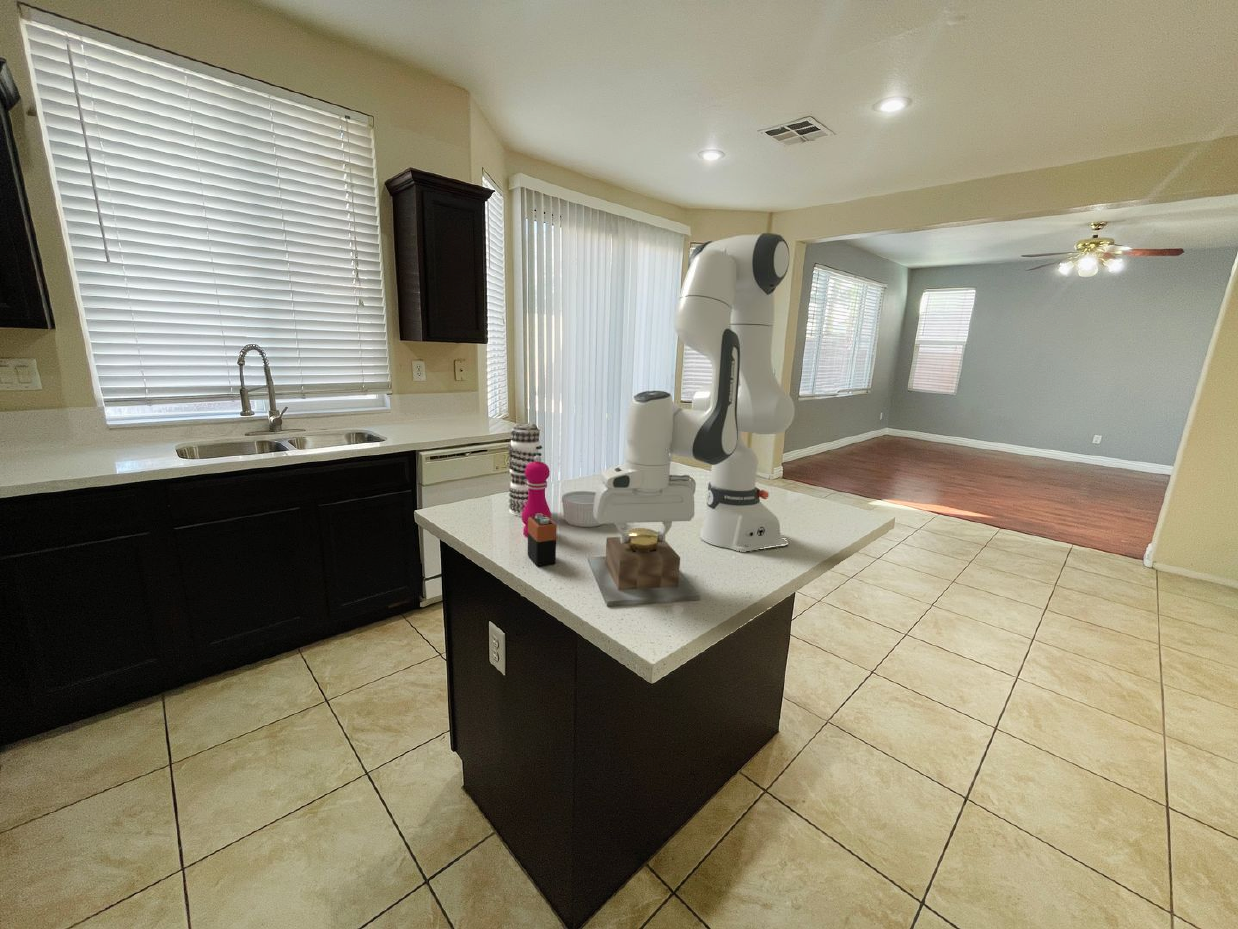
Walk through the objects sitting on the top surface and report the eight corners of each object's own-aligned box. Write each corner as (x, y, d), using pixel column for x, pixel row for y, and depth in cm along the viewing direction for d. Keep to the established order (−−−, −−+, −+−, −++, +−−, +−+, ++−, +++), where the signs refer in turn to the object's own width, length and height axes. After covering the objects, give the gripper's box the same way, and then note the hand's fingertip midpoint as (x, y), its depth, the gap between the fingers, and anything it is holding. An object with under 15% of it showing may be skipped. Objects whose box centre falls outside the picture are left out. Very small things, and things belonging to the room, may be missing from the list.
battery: (536, 567, 103) (537, 522, 100) (526, 555, 108) (527, 512, 106) (556, 564, 105) (557, 520, 102) (545, 552, 110) (546, 510, 108)
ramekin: (567, 511, 141) (568, 488, 139) (612, 515, 139) (614, 492, 138) (555, 526, 128) (556, 501, 126) (605, 531, 126) (606, 505, 125)
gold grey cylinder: (650, 564, 103) (652, 527, 101) (659, 577, 97) (662, 538, 95) (622, 566, 101) (624, 528, 100) (630, 579, 96) (632, 539, 94)
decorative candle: (527, 504, 145) (528, 421, 139) (547, 512, 139) (549, 425, 133) (501, 511, 138) (501, 423, 132) (521, 519, 132) (522, 427, 127)
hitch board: (665, 557, 111) (667, 528, 110) (699, 600, 92) (703, 565, 91) (588, 561, 107) (589, 531, 105) (606, 606, 88) (608, 570, 87)
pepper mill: (544, 540, 118) (546, 459, 113) (516, 537, 119) (517, 456, 115) (554, 530, 124) (556, 454, 120) (527, 527, 126) (528, 451, 122)
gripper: (690, 471, 100) (685, 534, 103) (593, 471, 96) (590, 538, 99) (702, 478, 94) (696, 545, 97) (599, 479, 90) (596, 550, 93)
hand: (642, 542), depth 98 cm, fingers open, 6 cm apart
